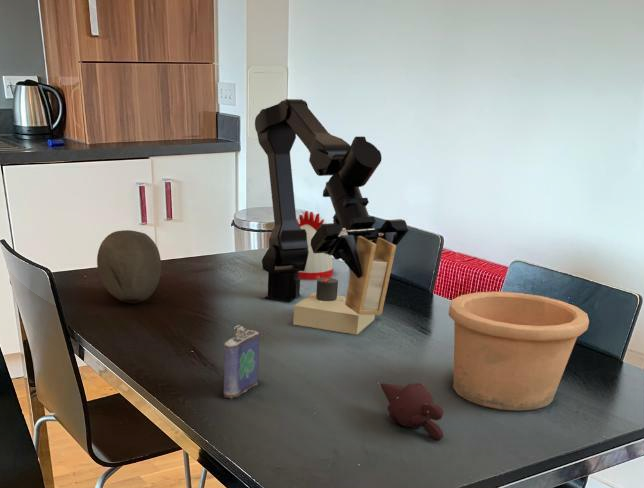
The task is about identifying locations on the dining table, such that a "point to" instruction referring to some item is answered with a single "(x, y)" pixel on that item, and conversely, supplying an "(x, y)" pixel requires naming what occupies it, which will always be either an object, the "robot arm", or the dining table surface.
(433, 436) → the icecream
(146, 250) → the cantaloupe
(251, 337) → the flask
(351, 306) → the napkin holder
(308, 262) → the kitchen timer
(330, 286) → the dial
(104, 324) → the dining table surface
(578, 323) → the pottery
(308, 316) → the wooden block
